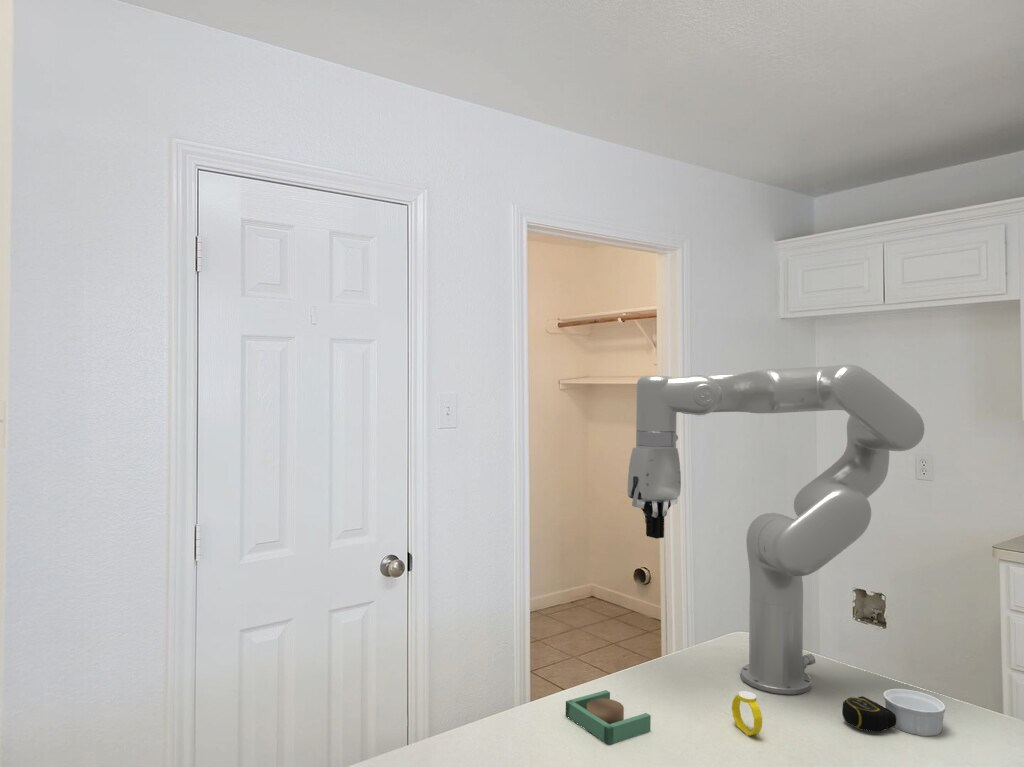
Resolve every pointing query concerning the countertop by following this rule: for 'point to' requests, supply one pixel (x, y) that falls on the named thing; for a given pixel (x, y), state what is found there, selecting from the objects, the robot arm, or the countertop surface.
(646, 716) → the green u-shaped frame
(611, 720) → the puck
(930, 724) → the ramekin
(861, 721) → the tape measure
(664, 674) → the countertop surface
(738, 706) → the watch
